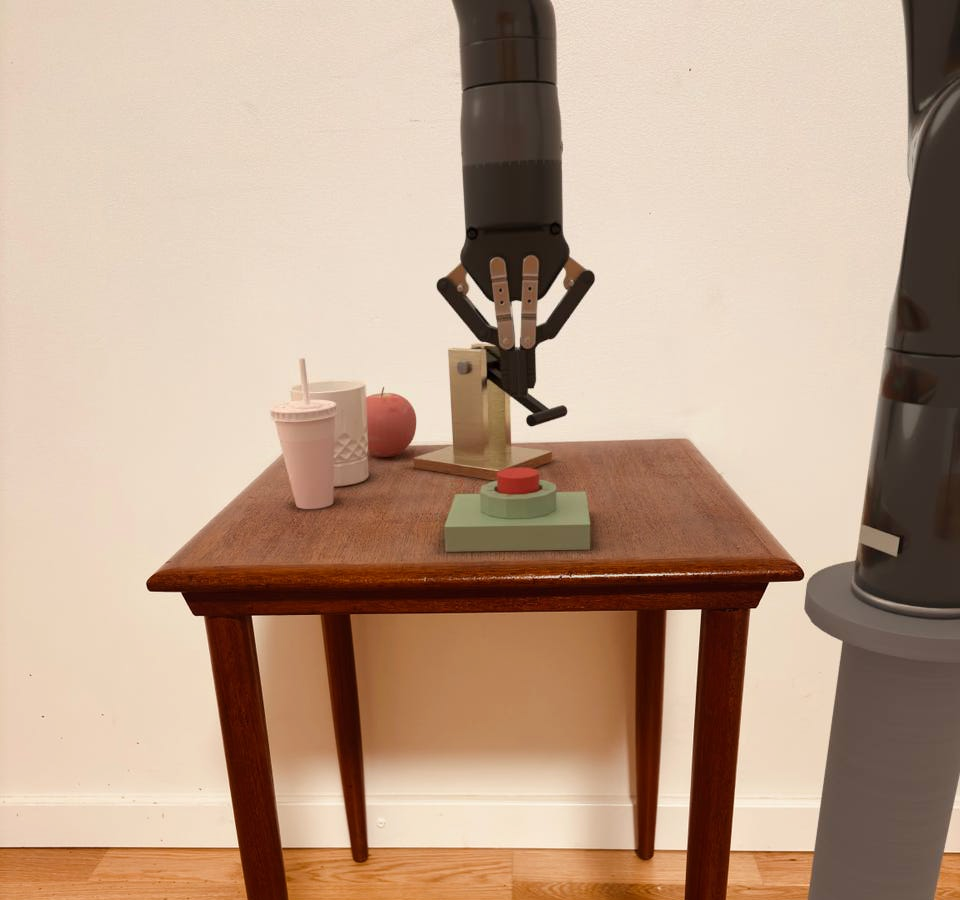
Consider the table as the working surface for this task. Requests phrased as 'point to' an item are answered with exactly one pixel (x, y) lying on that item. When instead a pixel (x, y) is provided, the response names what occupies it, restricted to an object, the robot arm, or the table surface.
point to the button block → (518, 521)
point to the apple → (389, 424)
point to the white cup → (344, 426)
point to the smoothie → (308, 446)
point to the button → (518, 481)
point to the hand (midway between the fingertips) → (519, 394)
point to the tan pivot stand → (479, 423)
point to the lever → (524, 397)
